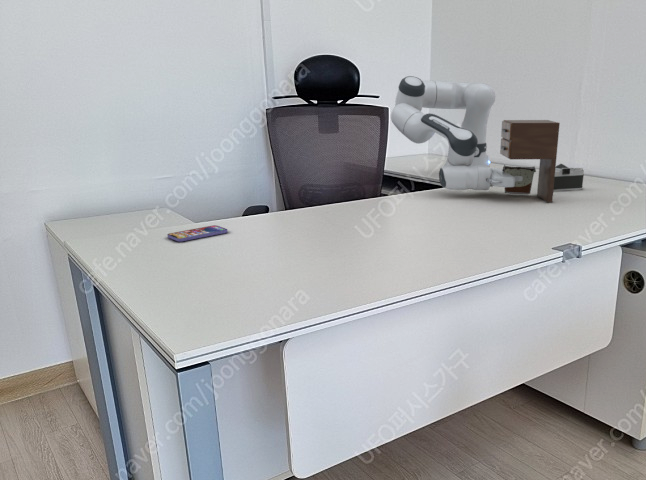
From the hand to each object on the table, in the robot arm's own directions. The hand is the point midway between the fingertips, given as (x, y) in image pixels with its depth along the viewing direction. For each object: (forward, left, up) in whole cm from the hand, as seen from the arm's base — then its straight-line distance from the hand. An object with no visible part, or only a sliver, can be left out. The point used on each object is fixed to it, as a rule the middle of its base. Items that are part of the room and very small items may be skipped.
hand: (521, 177), depth 217 cm
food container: (-1, -1, -6) cm, 7 cm away
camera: (-15, +21, -7) cm, 26 cm away
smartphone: (+53, -103, -7) cm, 116 cm away
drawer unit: (+5, +1, -7) cm, 8 cm away
